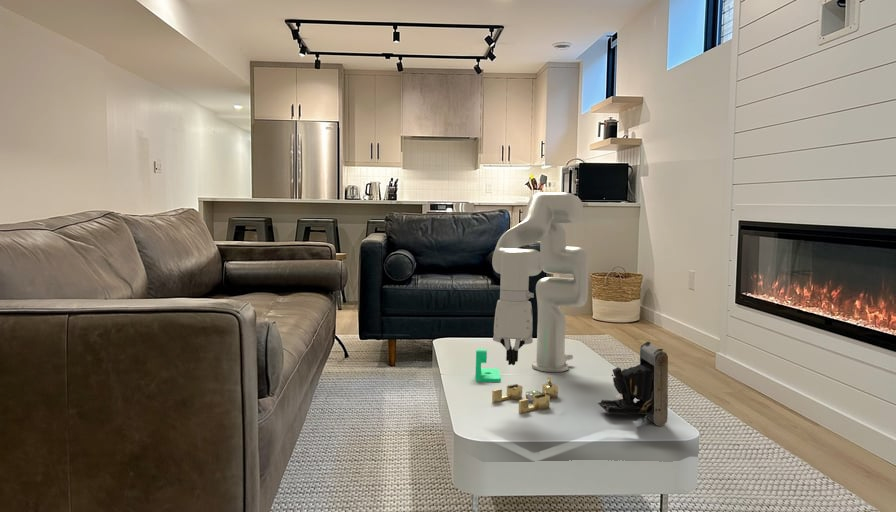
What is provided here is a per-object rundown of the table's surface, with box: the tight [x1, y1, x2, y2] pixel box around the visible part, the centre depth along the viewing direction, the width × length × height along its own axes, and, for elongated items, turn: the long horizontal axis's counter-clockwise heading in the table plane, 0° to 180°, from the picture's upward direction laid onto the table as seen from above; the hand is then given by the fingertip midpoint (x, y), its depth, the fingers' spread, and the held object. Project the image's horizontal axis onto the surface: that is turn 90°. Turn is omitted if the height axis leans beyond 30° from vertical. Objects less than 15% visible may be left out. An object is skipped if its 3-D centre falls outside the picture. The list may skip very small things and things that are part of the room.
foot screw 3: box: [541, 377, 559, 400], centre depth 168 cm, size 10×4×4 cm, turn 172°
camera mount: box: [475, 348, 501, 383], centre depth 184 cm, size 12×8×10 cm, turn 178°
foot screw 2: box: [518, 394, 551, 414], centre depth 154 cm, size 10×4×4 cm, turn 127°
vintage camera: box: [597, 341, 669, 427], centre depth 150 cm, size 10×15×20 cm, turn 95°
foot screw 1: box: [491, 383, 523, 403], centre depth 162 cm, size 10×4×4 cm, turn 127°
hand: (511, 363), depth 156 cm, fingers closed
